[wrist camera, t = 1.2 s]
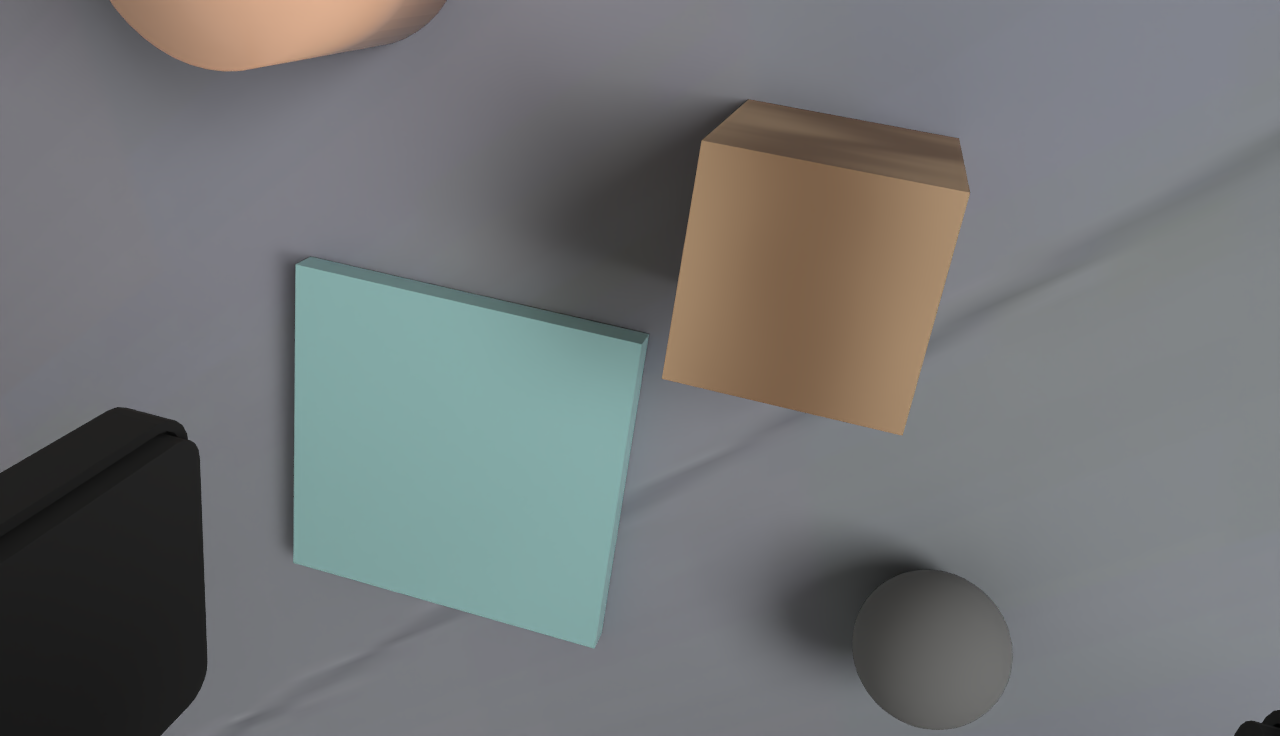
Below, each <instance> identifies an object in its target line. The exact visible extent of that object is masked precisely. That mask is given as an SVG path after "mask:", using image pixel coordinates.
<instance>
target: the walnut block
mask: <svg viewBox="0 0 1280 736" xmlns="http://www.w3.org/2000/svg"><path fill="white" fill-rule="evenodd" d="M969 195H970V190H969V185H968V180H967V175H966V170H965V165H964V161H963V156H962V151H961V146H960V141H959V138H953V137H948V136H943V135H937V134H932V133H927V132H921V131H916V130H911V129H905V128H900V127H894V126H889V125H884V124H878V123H873V122H868V121H862V120H857V119H851V118H846V117H841V116H835V115H830V114H825V113H819V112H814V111H809V110H803V109H798V108H792V107H787V106H782V105H776V104H771V103H766V102H760V101H755V100H747V101H746V102H745V103H744V104H743V105H742V106H741V107H739V108H738V109H737V110H736V111H735V112H734V113H732V114H731V115H730V116H729V117H728V118H727V119H726V120H724V121H723V122H722V123H721V124H720V125H719V126H718V127H716V128H715V129H714V130H713V131H712V132H711V133H710V134H708V135H707V136H706V137H705V138H704V139H703V140H702V141H701V147H700V153H699V159H698V165H697V171H696V177H695V183H694V189H693V195H692V201H691V207H690V213H689V219H688V225H687V231H686V237H685V243H684V249H683V255H682V261H681V267H680V273H679V279H678V285H677V291H676V297H675V303H674V309H673V315H672V321H671V327H670V333H669V339H668V345H667V351H666V357H665V363H664V369H663V375H662V379H665V380H670V381H674V382H678V383H682V384H686V385H691V386H695V387H699V388H703V389H708V390H712V391H716V392H720V393H725V394H729V395H733V396H737V397H741V398H746V399H750V400H754V401H758V402H763V403H767V404H771V405H775V406H780V407H784V408H788V409H792V410H797V411H801V412H805V413H809V414H813V415H818V416H822V417H826V418H830V419H835V420H839V421H843V422H847V423H852V424H856V425H860V426H864V427H868V428H873V429H877V430H881V431H885V432H890V433H894V434H898V435H903V432H904V428H905V425H906V421H907V417H908V414H909V410H910V407H911V403H912V399H913V396H914V392H915V389H916V385H917V381H918V378H919V374H920V371H921V367H922V364H923V360H924V356H925V353H926V349H927V346H928V342H929V338H930V335H931V331H932V328H933V324H934V320H935V317H936V313H937V310H938V306H939V302H940V299H941V295H942V292H943V288H944V285H945V281H946V277H947V274H948V270H949V267H950V263H951V259H952V256H953V252H954V249H955V245H956V241H957V238H958V234H959V231H960V227H961V223H962V220H963V216H964V213H965V209H966V206H967V202H968V198H969Z"/></svg>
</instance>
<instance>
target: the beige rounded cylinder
mask: <svg viewBox="0 0 1280 736" xmlns="http://www.w3.org/2000/svg"><path fill="white" fill-rule="evenodd" d="M446 1H447V0H110V2H111V3H112V4H113V6H114V7H115V9H116V10H117V11H118V12H119V13H120V14H121V16H122V17H123V18H124V19H125V20H126V21H127V23H128V24H129V25H130V26H132V27H133V28H134V29H135V30H136V31H137V32H138V33H139V34H140V35H141V36H142V37H143V38H145V39H146V40H147V41H149V42H150V43H151V44H153V45H154V46H155V47H157V48H158V49H160V50H162V51H163V52H165V53H167V54H168V55H170V56H172V57H174V58H176V59H178V60H181V61H183V62H185V63H188V64H190V65H193V66H197V67H201V68H204V69H209V70H217V71H242V70H248V69H253V68H259V67H265V66H270V65H276V64H281V63H287V62H292V61H298V60H304V59H309V58H315V57H320V56H326V55H332V54H337V53H343V52H348V51H354V50H359V49H365V48H371V47H376V46H382V45H387V44H391V43H394V42H397V41H400V40H403V39H405V38H407V37H409V36H410V35H412V34H414V33H416V32H417V31H419V30H420V29H421V28H423V27H424V26H425V25H427V24H428V23H429V22H430V21H431V20H432V19H433V18H434V17H435V16H436V15H437V13H438V12H439V11H440V9H441V8H442V7H443V5H444V4H445V3H446Z"/></svg>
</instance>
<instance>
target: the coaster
mask: <svg viewBox="0 0 1280 736" xmlns="http://www.w3.org/2000/svg"><path fill="white" fill-rule="evenodd" d="M648 337H649V334H646V333H642V332H638V331H633V330H629V329H625V328H620V327H616V326H611V325H607V324H603V323H598V322H594V321H590V320H585V319H581V318H577V317H572V316H568V315H563V314H559V313H555V312H550V311H546V310H542V309H537V308H533V307H528V306H524V305H520V304H515V303H511V302H507V301H502V300H498V299H494V298H489V297H485V296H480V295H476V294H472V293H467V292H463V291H459V290H454V289H450V288H446V287H441V286H437V285H432V284H428V283H424V282H419V281H415V280H411V279H406V278H402V277H398V276H393V275H389V274H384V273H380V272H376V271H371V270H367V269H363V268H358V267H354V266H350V265H345V264H341V263H336V262H332V261H328V260H323V259H319V258H315V257H309V258H307V259H305V260H303V261H301V262H299V263H297V264H296V275H295V413H294V551H293V563H296V564H299V565H303V566H306V567H310V568H314V569H317V570H321V571H324V572H328V573H331V574H335V575H338V576H342V577H345V578H349V579H352V580H356V581H359V582H363V583H366V584H370V585H373V586H377V587H380V588H384V589H387V590H391V591H394V592H398V593H401V594H405V595H408V596H412V597H415V598H419V599H422V600H426V601H429V602H433V603H436V604H440V605H443V606H447V607H450V608H454V609H457V610H461V611H464V612H468V613H471V614H475V615H478V616H482V617H485V618H489V619H492V620H496V621H499V622H503V623H507V624H510V625H514V626H517V627H521V628H524V629H528V630H531V631H535V632H538V633H542V634H545V635H549V636H552V637H556V638H559V639H563V640H566V641H570V642H573V643H577V644H580V645H584V646H587V647H591V648H595V646H596V644H597V642H598V640H599V638H600V635H601V633H602V628H603V622H604V615H605V609H606V603H607V596H608V590H609V584H610V577H611V571H612V565H613V559H614V552H615V546H616V540H617V533H618V527H619V521H620V514H621V508H622V502H623V495H624V489H625V483H626V476H627V470H628V464H629V457H630V451H631V445H632V438H633V432H634V426H635V420H636V413H637V407H638V401H639V394H640V388H641V382H642V375H643V369H644V363H645V356H646V350H647V344H648Z"/></svg>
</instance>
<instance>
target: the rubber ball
mask: <svg viewBox="0 0 1280 736" xmlns="http://www.w3.org/2000/svg"><path fill="white" fill-rule="evenodd" d="M852 651H853V659H854V663H855V667H856V670H857V673H858V675H859V677H860V680H861V682H862V684H863V686H864V687H865V689H866V691H867V692H868V693H869V695H870V696H871V697H872V698H873V700H874V701H875V702H876V703H877V704H878V705H879V706H880V707H881V708H882V709H883V710H885V711H886V712H887V713H889V714H890V715H892V716H893V717H895V718H896V719H898V720H900V721H902V722H904V723H907V724H909V725H912V726H915V727H919V728H924V729H932V730H944V729H952V728H957V727H960V726H964V725H966V724H968V723H971V722H973V721H975V720H976V719H978V718H980V717H981V716H983V715H984V714H985V713H986V712H988V711H989V710H990V709H991V708H992V707H993V705H994V704H995V703H996V702H997V701H998V700H999V698H1000V697H1001V695H1002V694H1003V692H1004V690H1005V687H1006V685H1007V683H1008V680H1009V677H1010V673H1011V669H1012V660H1013V654H1012V642H1011V638H1010V634H1009V630H1008V627H1007V625H1006V622H1005V620H1004V618H1003V616H1002V614H1001V613H1000V611H999V609H998V608H997V606H996V605H995V604H994V603H993V601H992V600H991V599H990V598H989V597H988V596H987V595H986V594H985V593H984V592H983V591H982V590H981V589H979V588H978V587H977V586H975V585H974V584H972V583H971V582H969V581H967V580H966V579H964V578H962V577H959V576H957V575H954V574H951V573H948V572H943V571H938V570H916V571H910V572H906V573H903V574H900V575H897V576H895V577H893V578H891V579H889V580H888V581H886V582H884V583H883V584H882V585H880V586H879V587H878V588H877V589H876V590H874V591H873V592H872V594H871V595H870V596H869V597H868V598H867V600H866V601H865V602H864V604H863V606H862V608H861V609H860V611H859V614H858V616H857V619H856V621H855V626H854V631H853V637H852Z"/></svg>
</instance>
